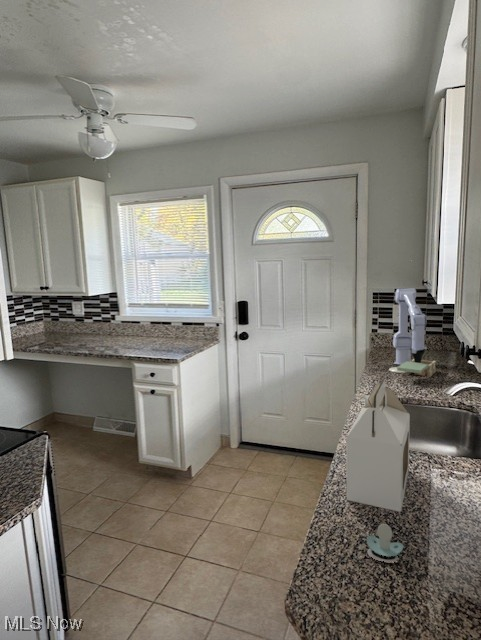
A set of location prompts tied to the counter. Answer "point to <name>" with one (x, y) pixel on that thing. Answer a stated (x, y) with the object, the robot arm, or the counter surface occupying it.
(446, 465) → the counter surface
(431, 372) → the cubby
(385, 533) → the pacifier
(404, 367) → the lid
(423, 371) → the block
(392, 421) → the gable box
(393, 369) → the plate
